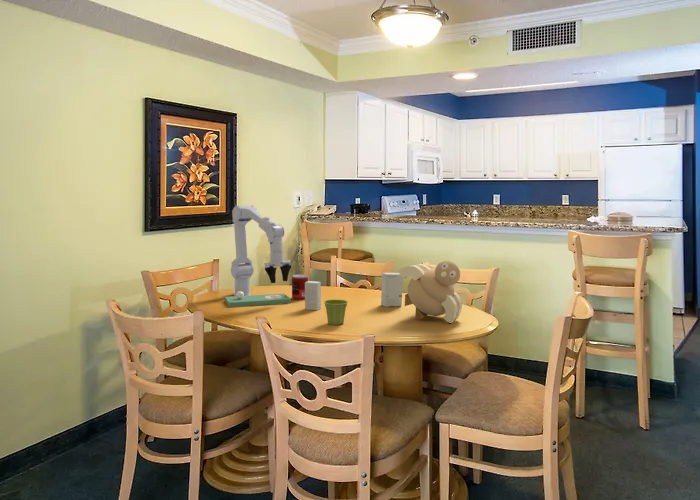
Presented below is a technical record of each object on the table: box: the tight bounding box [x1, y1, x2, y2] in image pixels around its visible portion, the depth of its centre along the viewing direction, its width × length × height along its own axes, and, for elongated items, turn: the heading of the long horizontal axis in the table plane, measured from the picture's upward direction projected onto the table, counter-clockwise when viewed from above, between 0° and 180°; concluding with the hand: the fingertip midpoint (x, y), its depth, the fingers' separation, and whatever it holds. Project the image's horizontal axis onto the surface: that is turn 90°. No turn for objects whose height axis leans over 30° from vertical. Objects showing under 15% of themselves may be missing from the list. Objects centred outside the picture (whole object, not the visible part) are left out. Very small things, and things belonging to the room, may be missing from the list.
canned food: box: [291, 273, 309, 301], centre depth 265 cm, size 8×8×11 cm
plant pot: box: [323, 299, 349, 326], centre depth 216 cm, size 9×9×9 cm
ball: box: [236, 291, 244, 299], centre depth 252 cm, size 4×4×4 cm
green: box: [224, 292, 292, 308], centre depth 255 cm, size 14×28×2 cm, turn 110°
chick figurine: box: [397, 260, 463, 324], centre depth 224 cm, size 30×28×23 cm
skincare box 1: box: [304, 280, 322, 311], centre depth 241 cm, size 6×4×12 cm
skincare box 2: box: [380, 272, 404, 308], centre depth 250 cm, size 8×6×15 cm
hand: (279, 282), depth 249 cm, fingers open, 7 cm apart
